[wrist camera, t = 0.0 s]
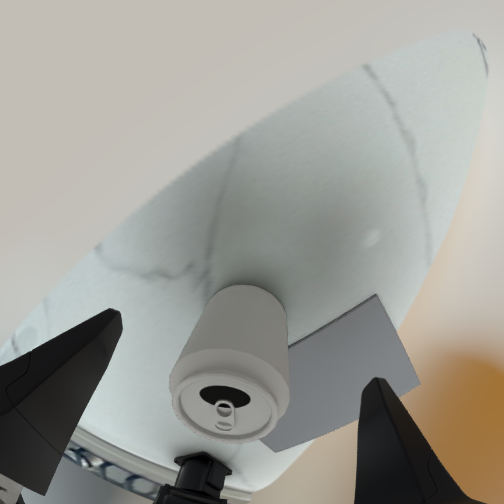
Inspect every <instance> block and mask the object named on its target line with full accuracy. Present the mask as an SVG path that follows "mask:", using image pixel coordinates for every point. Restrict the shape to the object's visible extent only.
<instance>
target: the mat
mask: <svg viewBox="0 0 504 504" xmlns="http://www.w3.org/2000/svg"><path fill="white" fill-rule="evenodd" d="M288 359H289V398H290V402H289V404H288V407H287V409H286V411H285V414H284V415H283V416H282V417H281V418H280V419H279V420H278V421H277V423H276V426H275V428H274V429H273V430H272V431H271V432H269V433H268V434H267V435H266V436H264V437H262V438H260V439H259V440H260V441H262V442H263V443H264V444H265V445H267V446H268V447H269V448H270V449H272V450H273V451H274V452H275V453H276V452H279V451H282V450H285V449H288V448H291V447H294V446H296V445H299V444H302V443H305V442H307V441H310V440H312V439H315V438H317V437H320V436H322V435H324V434H327V433H329V432H332V431H334V430H336V429H339V428H341V427H343V426H345V425H347V424H349V423H352V422H354V421H356V420H358V419H359V414H360V405H361V394H362V391H363V389H364V388H365V386H366V385H367V384H368V383H369V382H370V381H371V380H372V378H374V377H382V378H385V379H386V380H387V382H388V383H389V385H390V386H391V388H392V389H393V391H394V392H395V393H396V395H397V396H398V398H399V397H401V396H402V395H404V394H406V393H407V392H409V391H411V390H412V389H414V388H415V387H417V386H418V385H420V384H421V383H420V381H419V379H418V377H417V374H416V372H415V370H414V368H413V365H412V364H411V361H410V359H409V357H408V355H407V353H406V351H405V349H404V347H403V345H402V343H401V341H400V339H399V336H398V335H397V332H396V331H395V329H394V327H393V325H392V323H391V321H390V319H389V317H388V315H387V313H386V311H385V309H384V307H383V306H382V304H381V302H380V300H379V298H378V296H377V295H376V294H375V295H374V296H372V297H371V298H369V299H368V300H366V301H365V302H363V303H361V304H360V305H358V306H357V307H355V308H354V309H352V310H350V311H349V312H347V313H346V314H344V315H342V316H341V317H339V318H337V319H336V320H334V321H333V322H331V323H329V324H328V325H326V326H324V327H322V328H321V329H319V330H317V331H316V332H314V333H312V334H310V335H309V336H307V337H305V338H303V339H302V340H300V341H298V342H296V343H294V344H293V345H291V346H289V347H288Z"/></svg>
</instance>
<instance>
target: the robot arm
mask: <svg viewBox="0 0 504 504" xmlns="http://www.w3.org/2000/svg"><path fill="white" fill-rule="evenodd" d="M122 330H123V326H122V318H121V313H120V312H119V311H117V310H115V309H112V308H109V309H107V310H105V311H103V312H101V313H99V314H97V315H95V316H93V317H92V318H90V319H88V320H86V321H84V322H82V323H80V324H79V325H77V326H75V327H73V328H71V329H69V330H68V331H66V332H64V333H62V334H60V335H58V336H57V337H55V338H53V339H51V340H49V341H47V342H46V343H44V344H42V345H40V346H38V347H37V348H35V349H33V350H32V351H29V352H27V353H26V354H24V355H22V356H20V357H18V358H16V359H14V360H12V361H10V362H8V363H6V364H4V365H2V366H0V504H25V503H24V501H23V498H22V495H21V490H22V488H23V486H24V487H26V488H28V489H30V490H32V491H34V492H36V493H38V494H40V495H43V496H45V494H46V492H47V490H48V487H49V485H50V482H51V480H52V478H53V476H54V473H55V471H56V469H57V467H58V464H59V462H60V460H61V458H62V455H63V453H64V451H65V449H66V447H67V445H68V442H69V440H70V438H71V436H72V434H73V432H74V430H75V428H76V426H77V424H78V422H79V420H80V418H81V416H82V414H83V412H84V410H85V408H86V406H87V404H88V403H89V401H90V399H91V397H92V395H93V393H94V391H95V389H96V387H97V386H98V384H99V382H100V380H101V378H102V376H103V375H104V373H105V371H106V369H107V367H108V364H109V362H110V360H111V357H112V355H113V353H114V350H115V348H116V345H117V343H118V341H119V338H120V336H121V334H122ZM174 462H175V463H176V464H178V465H179V466H181V467H180V470H179V473H178V476H177V479H176V482H175V485H174V486H171V485H169V484H165V486H161V487H160V489H159V492H158V495H157V497H156V498H155V500H154V502H153V504H227V499H220V498H219V497H220V492H221V490H223V486H224V481H225V476H228V475H232V471H231V470H229V469H228V468H226V467H225V466H224V465H222V464H221V463H219V462H218V461H216V460H215V459H214V458H212V457H211V456H209V455H208V454H207V453H204V452H201V453H197V454H193V455H189V456H184V457H179V458H175V459H174ZM354 504H486V503H483V502H480V501H477V500H474V499H471V498H470V497H468V496H467V495H466V494H464V492H463V491H462V490H461V489H460V487H459V486H458V485H457V483H456V482H455V481H454V480H453V478H452V477H451V476H450V474H449V473H448V472H447V470H446V469H445V468H444V466H443V465H442V463H441V462H440V460H439V459H438V457H437V456H436V454H435V453H434V451H433V450H432V449H431V447H430V445H429V443H428V442H427V440H426V439H425V438H424V436H423V434H422V433H421V431H420V430H419V428H418V426H417V425H416V424H415V422H414V421H413V419H412V417H411V416H410V414H409V413H408V411H407V410H406V408H405V407H404V405H403V404H402V402H401V401H400V400H399V398H398V396H397V395H396V393H395V392H394V391H393V389H392V388H391V386H390V385H389V383H388V382H387V380H386V379H385V378H382V377H374V378H372V380H371V381H370V382H369V383H368V384H367V385H366V386H365V388H364V389H363V391H362V394H361V405H360V414H359V423H358V442H357V471H356V488H355V500H354Z"/></svg>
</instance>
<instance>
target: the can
mask: <svg viewBox="0 0 504 504" xmlns="http://www.w3.org/2000/svg"><path fill="white" fill-rule="evenodd" d="M169 389H170V392H171V394H172V407H173V409H174V411H175V414H176V416H177V417H178V418H179V419H180V421H181V422H182V423H183V424H184V425H185V426H186V427H187V428H189V429H190V430H192V431H193V432H195V433H196V434H198V435H200V436H202V437H205V438H207V439H209V440H213V441H217V442H222V443H236V444H240V443H246V442H251V441H255V440H257V439H260V438H262V437H264V436H266V435H267V434H268V433H269V432H271V431H272V430H273V429H274V428H275V426H276V423H277V421H278V420H279V419H280V418H281V417H282V416H283V415H284V414H285V411H286V409H287V407H288V404H289V402H290V398H289V359H288V332H287V317H286V313H285V311H284V309H283V307H282V305H281V303H280V302H279V301H278V300H277V299H276V298H275V297H274V296H273V295H272V294H271V293H269V292H267V291H265V290H263V289H262V288H260V287H255V286H250V285H233V286H230V287H227V288H225V289H222V290H220V291H218V292H217V293H216V294H215V295H214V296H213V297H211V298H210V300H209V302H208V303H207V305H206V307H205V309H204V311H203V312H202V314H201V316H200V318H199V320H198V322H197V324H196V326H195V328H194V330H193V331H192V333H191V335H190V337H189V339H188V341H187V343H186V345H185V347H184V349H183V351H182V353H181V354H180V356H179V358H178V360H177V362H176V364H175V366H174V368H173V370H172V372H171V374H170V380H169Z"/></svg>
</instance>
